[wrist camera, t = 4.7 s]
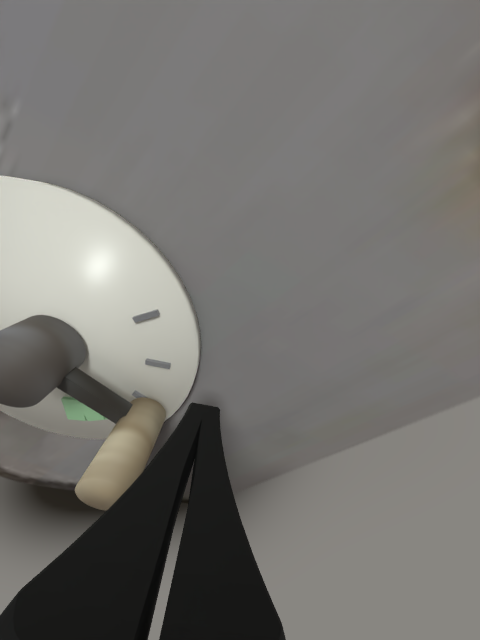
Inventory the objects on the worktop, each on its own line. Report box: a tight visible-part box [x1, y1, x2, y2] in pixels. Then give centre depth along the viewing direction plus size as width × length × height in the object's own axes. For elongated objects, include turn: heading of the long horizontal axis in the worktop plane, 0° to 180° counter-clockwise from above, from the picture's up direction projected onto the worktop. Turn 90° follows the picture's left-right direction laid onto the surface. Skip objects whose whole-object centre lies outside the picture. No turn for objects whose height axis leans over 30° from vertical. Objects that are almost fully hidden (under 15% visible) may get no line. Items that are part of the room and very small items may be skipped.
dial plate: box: [0, 176, 201, 440], centre depth 13 cm, size 16×16×1 cm
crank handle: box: [0, 315, 166, 511], centre depth 11 cm, size 10×4×5 cm, turn 45°
